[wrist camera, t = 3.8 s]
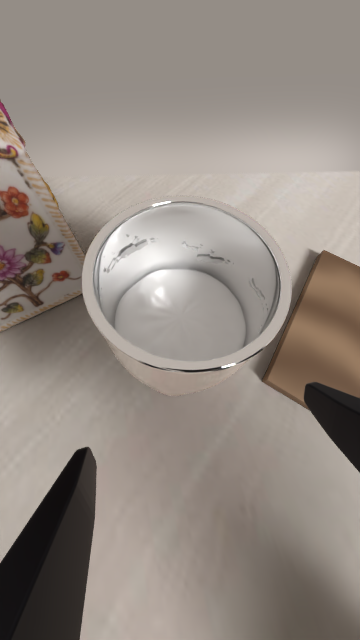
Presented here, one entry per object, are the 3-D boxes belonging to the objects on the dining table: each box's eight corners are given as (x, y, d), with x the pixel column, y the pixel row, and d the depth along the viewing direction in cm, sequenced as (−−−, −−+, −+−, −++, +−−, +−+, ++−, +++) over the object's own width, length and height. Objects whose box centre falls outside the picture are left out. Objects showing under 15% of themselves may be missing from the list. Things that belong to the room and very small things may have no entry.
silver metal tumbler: (142, 327, 22) (97, 183, 8) (209, 331, 22) (282, 197, 8) (133, 399, 19) (41, 375, 5) (210, 403, 19) (323, 388, 5)
